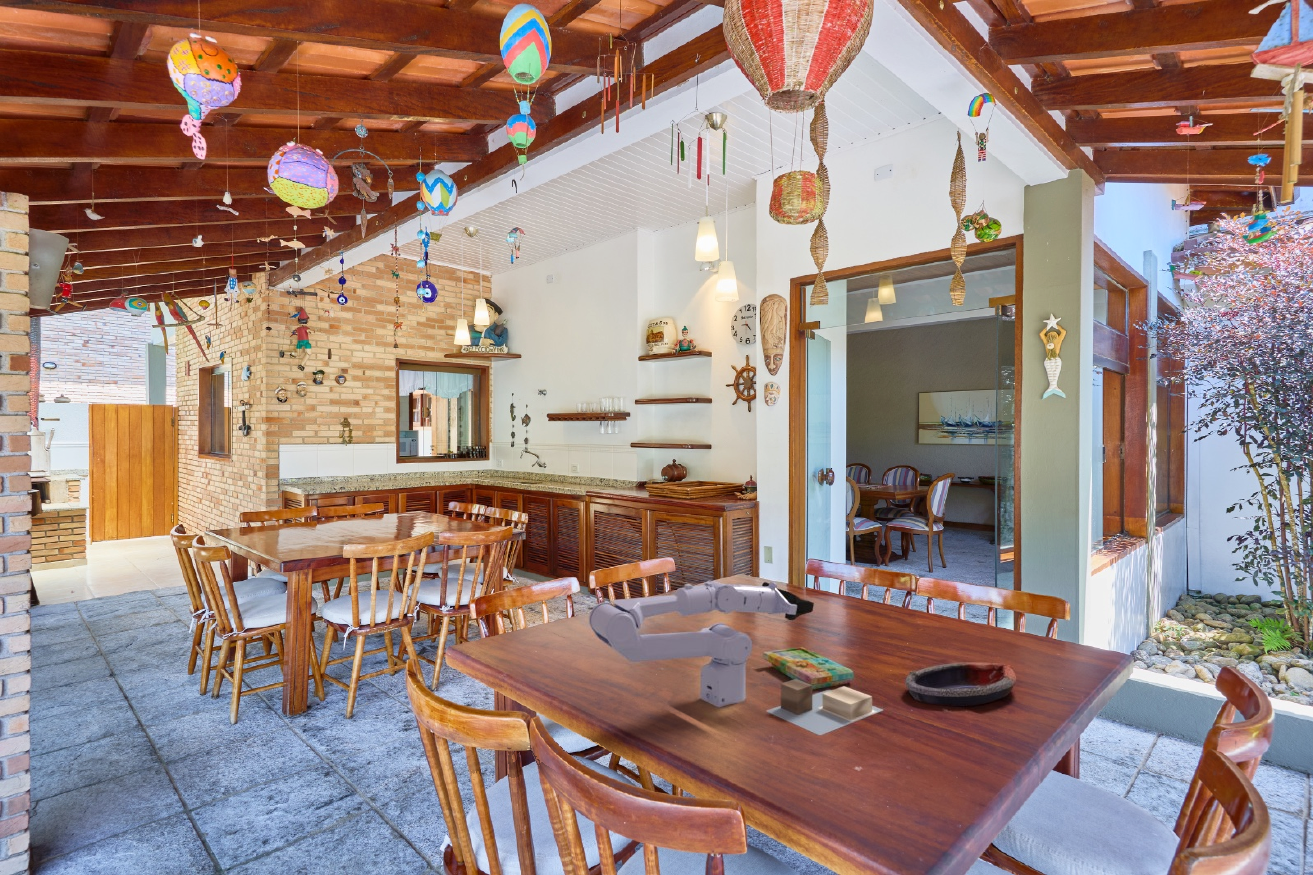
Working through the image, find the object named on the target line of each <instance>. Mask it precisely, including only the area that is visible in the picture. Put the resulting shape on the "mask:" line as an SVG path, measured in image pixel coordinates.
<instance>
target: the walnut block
mask: <svg viewBox="0 0 1313 875" xmlns="http://www.w3.org/2000/svg"><path fill="white" fill-rule="evenodd" d="M812 695H813V689H812V685H810V684H808V683H805V682H802V681H800V680H797V679H791V680H788V681H785V682H782V683H780V706H781V708H783V709H785V710H787V711H790V712H792V713H794V714H796V715H799V714H802V713H805V712H807V711H810V710H812Z"/></svg>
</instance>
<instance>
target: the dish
mask: <svg viewBox="0 0 1313 875" xmlns="http://www.w3.org/2000/svg"><path fill="white" fill-rule="evenodd" d="M1016 683H1017V676H1016V673H1015V671H1014V669H1013V667H1012V666H1011V665H1010V664H1007V663H997V662H954V663H953V662H951V663H946V664H944V663H943V664H939V665H934V666H929V667H925V668H922V669H919V670H911V671H909V674H908V675H907V677H906V679H905V682H904V684H905V687H906V688H907V690H908V694H910V695H911V697H912V698H913V699H915V700H916V701H919V702H921V703H926V704H932V705H940V706H954V707H970V706H980V705H983V704H988V703H992V702H995V701H997V700H1000V699H1003V698H1005V697H1007V696H1009V694H1010V693H1011V692H1012V690H1013V688H1014V686H1015V685H1016Z"/></svg>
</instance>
